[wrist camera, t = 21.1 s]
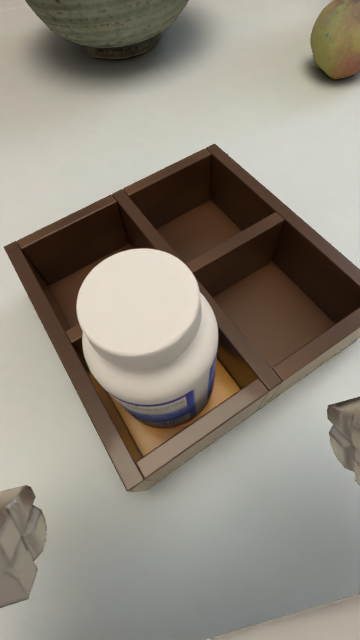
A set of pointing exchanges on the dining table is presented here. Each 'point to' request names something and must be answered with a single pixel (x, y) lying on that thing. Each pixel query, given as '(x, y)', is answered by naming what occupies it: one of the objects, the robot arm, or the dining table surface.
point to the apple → (338, 39)
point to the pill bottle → (149, 335)
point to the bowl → (109, 23)
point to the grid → (214, 284)
